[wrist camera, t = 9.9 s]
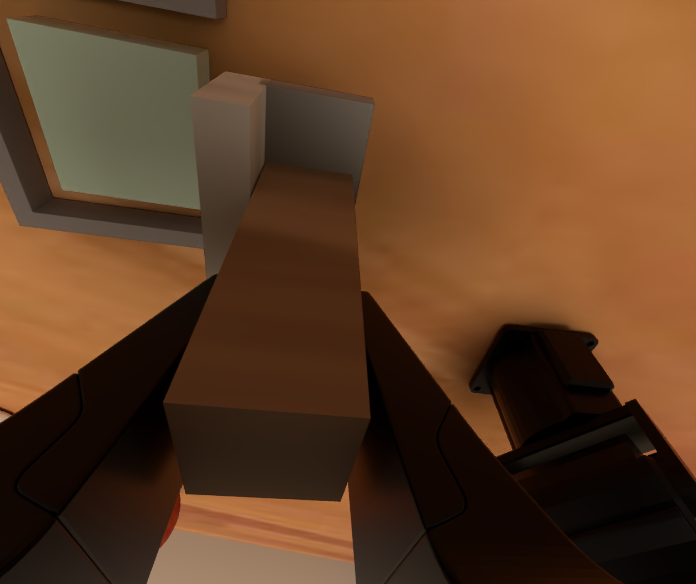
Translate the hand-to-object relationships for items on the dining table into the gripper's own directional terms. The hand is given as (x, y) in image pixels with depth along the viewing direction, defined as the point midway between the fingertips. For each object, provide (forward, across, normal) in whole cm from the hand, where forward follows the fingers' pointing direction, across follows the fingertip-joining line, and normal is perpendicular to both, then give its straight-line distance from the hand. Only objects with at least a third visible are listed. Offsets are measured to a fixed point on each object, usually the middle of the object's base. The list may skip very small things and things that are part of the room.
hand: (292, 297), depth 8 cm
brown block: (+5, +1, 0) cm, 5 cm away
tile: (+11, +7, 0) cm, 13 cm away
